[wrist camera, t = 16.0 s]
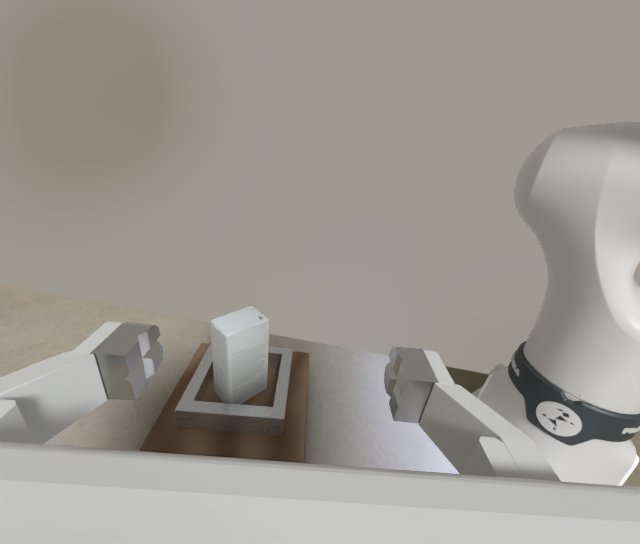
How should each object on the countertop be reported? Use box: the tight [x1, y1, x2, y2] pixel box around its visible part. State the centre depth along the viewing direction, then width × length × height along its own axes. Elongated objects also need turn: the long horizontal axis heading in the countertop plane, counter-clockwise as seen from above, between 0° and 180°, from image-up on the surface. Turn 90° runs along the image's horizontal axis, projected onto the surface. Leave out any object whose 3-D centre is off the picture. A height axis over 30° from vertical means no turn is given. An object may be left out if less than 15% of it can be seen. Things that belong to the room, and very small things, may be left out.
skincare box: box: [210, 306, 270, 404], centre depth 37 cm, size 6×4×12 cm
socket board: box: [140, 343, 309, 463], centre depth 40 cm, size 18×18×4 cm
